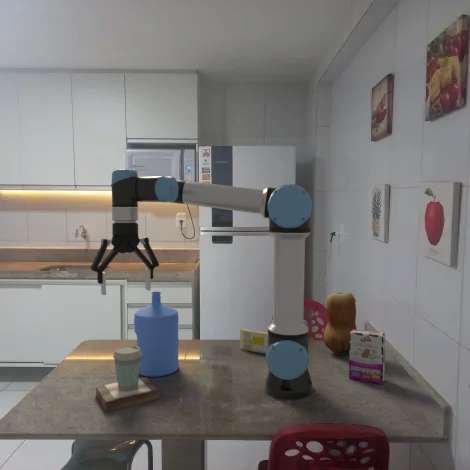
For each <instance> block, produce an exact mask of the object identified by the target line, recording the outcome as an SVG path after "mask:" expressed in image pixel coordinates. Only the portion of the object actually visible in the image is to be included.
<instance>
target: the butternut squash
mask: <svg viewBox="0 0 470 470" xmlns="http://www.w3.org/2000/svg"><path fill="white" fill-rule="evenodd" d="M356 302H357V301H356V297H355V296H354V295H353V293H351V292H350V291H344V290H343V291H335V292H332V293H330V294H328V296H327V297H326V302H325V303H326V306H325V312H326V318H327V324H326V327H325V328H324V330H323V343H324V345H325V347H326V348H327V349H329V350H330V351H332V352H333V353H334V354H337V355H339V356H340V355H349V342H350V341H349V337H350V331H351V330H352V329H356V330H358V329H357V325H356V318H357V317H356V316H357V306H356Z"/></svg>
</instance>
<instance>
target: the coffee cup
mask: <svg viewBox="0 0 470 470" xmlns="http://www.w3.org/2000/svg"><path fill="white" fill-rule="evenodd" d="M141 356H142V352H141V350H140V348H139V347H138V346H137V345H131V344H130V345H123V346H118V347H117V348H116V349H115V350H114V352H113V356H112V359H114V364H115V365H114V367H115V374H116V380H117V382H118V388H119V390H120V391H125V392H128V391H133V390H135V389H137V388H138V381H139V378H140V374H139V371H140V361H141Z"/></svg>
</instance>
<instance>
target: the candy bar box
mask: <svg viewBox="0 0 470 470" xmlns="http://www.w3.org/2000/svg"><path fill="white" fill-rule="evenodd" d="M349 341H350V342H349V354H348V357H349V359H348V363H349V364H348V367H349V368H348V379H349V380H354V381H360V382H365V383H370V384H371V383H372V384H377V385H383V383H384V381H385V367H386V365H385V361H386V360H385V359H386V357H385V355H386V350H385V349H386V348H385V347H386V333H385V332H382V331H375V330H373V331H372V330H366V329H365V330H364V329H357V330H356V329H352V330H351V331H350V337H349Z"/></svg>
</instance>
